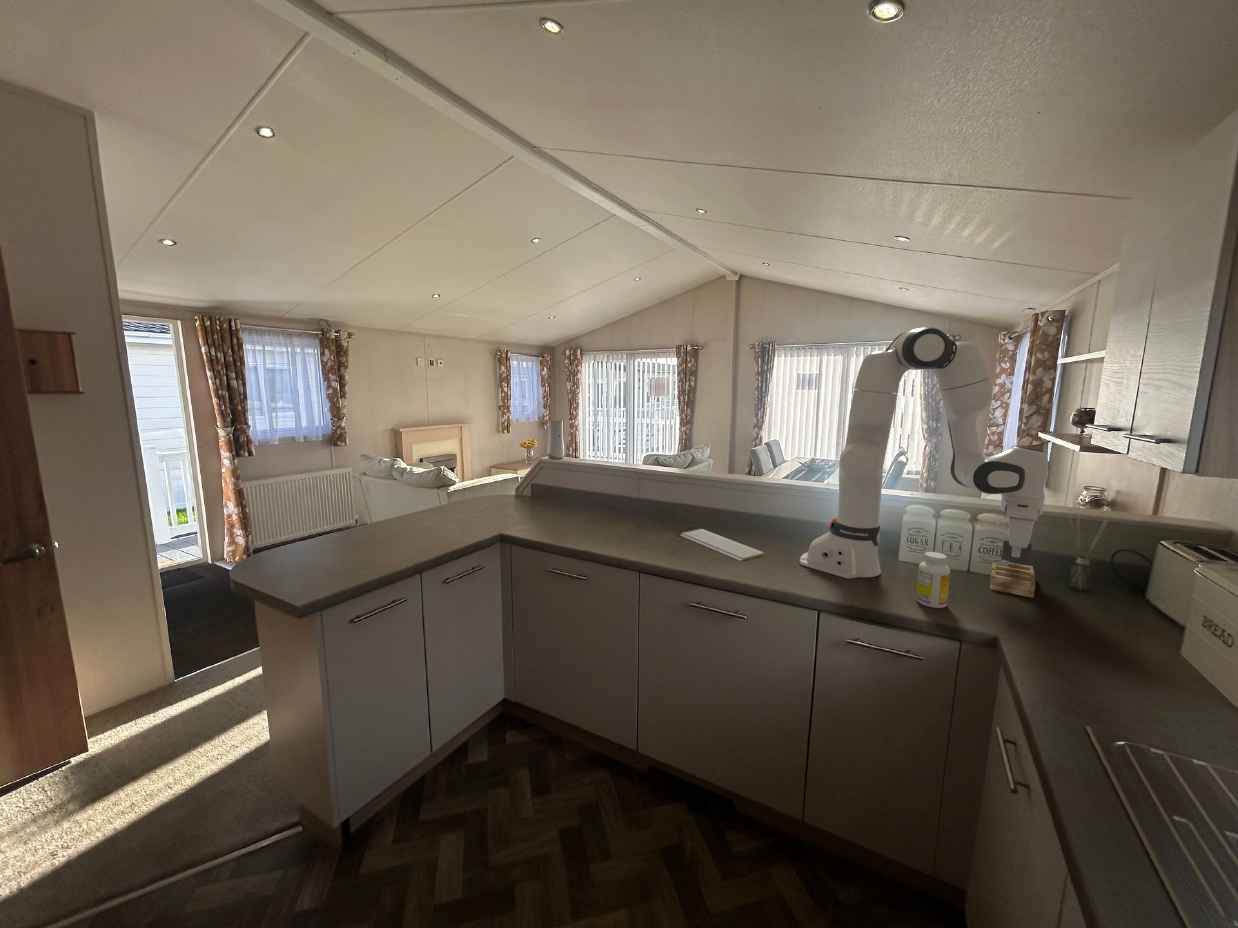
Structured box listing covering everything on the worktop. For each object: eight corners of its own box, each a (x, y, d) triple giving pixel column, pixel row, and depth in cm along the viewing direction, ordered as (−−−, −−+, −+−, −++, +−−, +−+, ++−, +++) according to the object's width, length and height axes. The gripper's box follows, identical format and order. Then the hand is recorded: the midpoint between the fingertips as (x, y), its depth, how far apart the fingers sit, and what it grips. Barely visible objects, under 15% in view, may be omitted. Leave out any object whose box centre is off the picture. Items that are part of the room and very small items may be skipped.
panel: (1001, 559, 135) (1003, 540, 134) (1001, 557, 137) (1003, 538, 136) (1029, 564, 131) (1032, 544, 130) (1029, 561, 133) (1031, 542, 132)
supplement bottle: (944, 600, 125) (950, 552, 123) (948, 611, 119) (954, 561, 117) (914, 595, 128) (919, 548, 125) (916, 605, 122) (921, 557, 120)
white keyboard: (736, 564, 152) (763, 556, 158) (737, 555, 152) (764, 548, 158) (676, 537, 178) (701, 532, 185) (676, 530, 178) (701, 525, 184)
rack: (989, 588, 131) (991, 575, 131) (991, 568, 145) (993, 556, 145) (1033, 597, 126) (1035, 584, 125) (1031, 576, 140) (1033, 563, 139)
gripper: (1006, 497, 141) (1001, 542, 144) (1006, 511, 126) (1000, 562, 128) (1035, 500, 138) (1029, 546, 140) (1038, 515, 122) (1031, 568, 124)
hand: (1015, 554), depth 134 cm, fingers closed on panel, 2 cm apart
